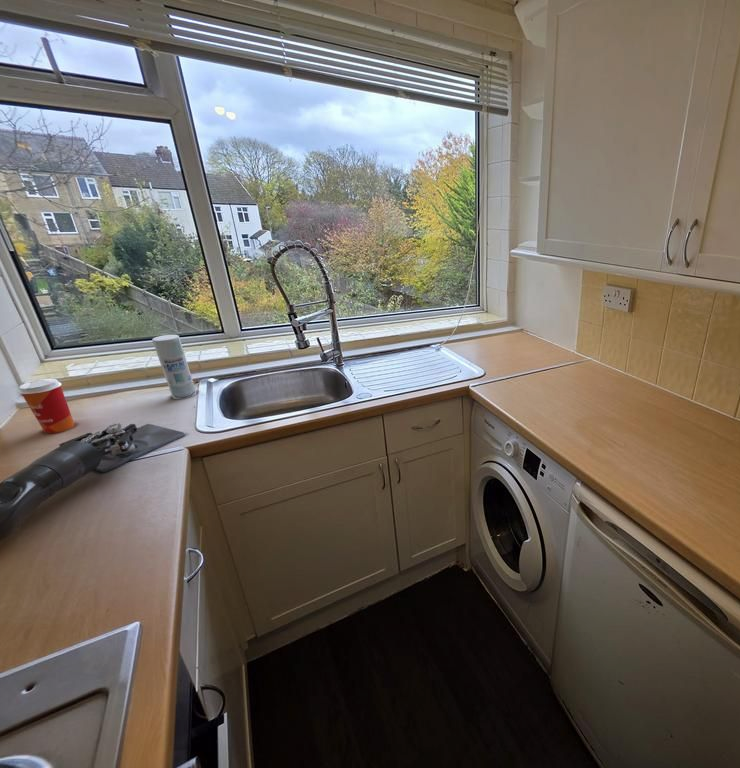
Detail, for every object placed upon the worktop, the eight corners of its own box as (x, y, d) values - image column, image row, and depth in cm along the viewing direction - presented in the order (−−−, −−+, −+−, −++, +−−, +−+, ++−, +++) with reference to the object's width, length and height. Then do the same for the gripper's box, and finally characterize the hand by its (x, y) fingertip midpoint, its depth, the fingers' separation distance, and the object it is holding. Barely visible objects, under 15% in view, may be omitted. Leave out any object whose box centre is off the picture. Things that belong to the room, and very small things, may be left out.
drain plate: (105, 474, 93) (102, 469, 93) (67, 462, 97) (64, 457, 97) (185, 437, 109) (183, 432, 108) (149, 428, 113) (147, 423, 112)
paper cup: (37, 431, 110) (13, 384, 105) (76, 420, 116) (56, 375, 111) (43, 440, 106) (19, 391, 101) (84, 428, 112) (62, 382, 106)
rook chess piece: (109, 457, 99) (96, 428, 96) (130, 448, 103) (119, 420, 100) (120, 461, 98) (108, 431, 95) (141, 451, 102) (130, 423, 99)
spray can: (195, 390, 136) (177, 333, 128) (199, 396, 132) (180, 337, 124) (171, 396, 132) (150, 337, 124) (174, 402, 128) (153, 341, 120)
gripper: (93, 449, 84) (151, 412, 100) (17, 453, 83) (89, 415, 99) (106, 479, 87) (161, 439, 103) (33, 483, 86) (100, 441, 102)
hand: (125, 427), depth 101 cm, fingers closed on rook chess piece, 3 cm apart
